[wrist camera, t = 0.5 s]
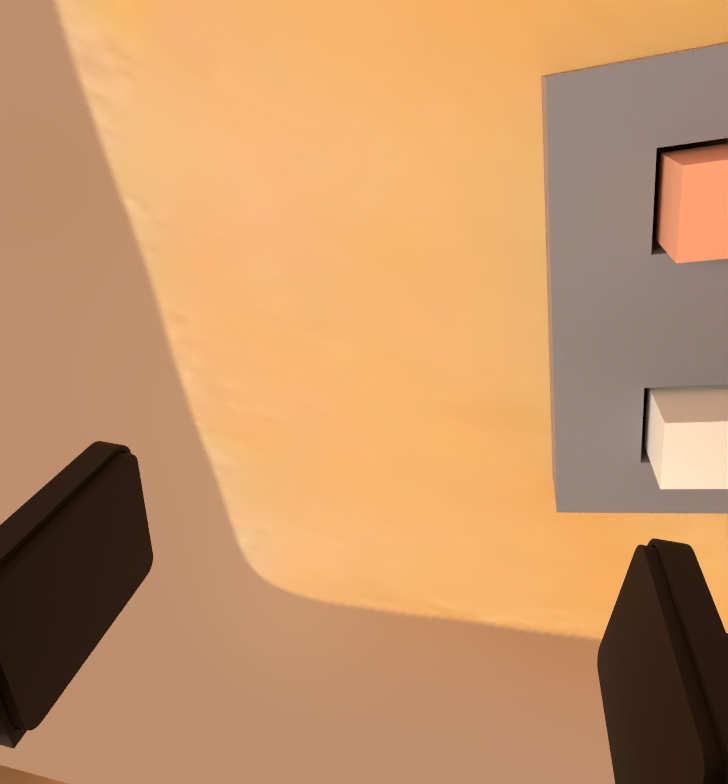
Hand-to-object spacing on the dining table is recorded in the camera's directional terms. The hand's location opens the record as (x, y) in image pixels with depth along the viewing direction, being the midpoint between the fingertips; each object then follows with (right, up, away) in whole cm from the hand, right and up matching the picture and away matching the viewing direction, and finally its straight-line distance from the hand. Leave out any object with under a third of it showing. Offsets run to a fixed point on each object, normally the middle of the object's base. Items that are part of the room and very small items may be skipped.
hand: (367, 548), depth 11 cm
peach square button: (+16, +12, +16) cm, 26 cm away
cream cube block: (+18, +2, +22) cm, 28 cm away
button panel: (+17, +8, +22) cm, 29 cm away
